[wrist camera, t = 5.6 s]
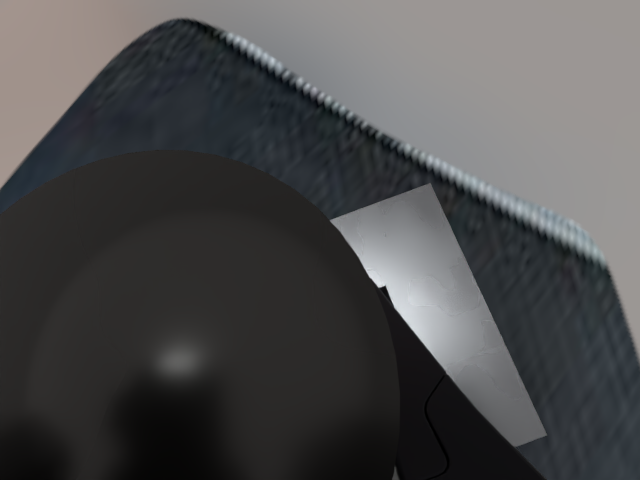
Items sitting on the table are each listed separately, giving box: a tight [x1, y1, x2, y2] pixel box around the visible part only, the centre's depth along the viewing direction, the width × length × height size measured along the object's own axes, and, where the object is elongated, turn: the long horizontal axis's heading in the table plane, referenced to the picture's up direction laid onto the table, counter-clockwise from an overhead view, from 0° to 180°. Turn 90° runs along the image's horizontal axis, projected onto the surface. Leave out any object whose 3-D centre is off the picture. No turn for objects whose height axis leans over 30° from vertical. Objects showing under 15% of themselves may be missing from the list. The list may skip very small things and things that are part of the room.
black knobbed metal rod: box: [0, 150, 400, 480], centre depth 9 cm, size 4×4×13 cm
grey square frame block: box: [330, 184, 547, 447], centre depth 20 cm, size 12×12×4 cm
